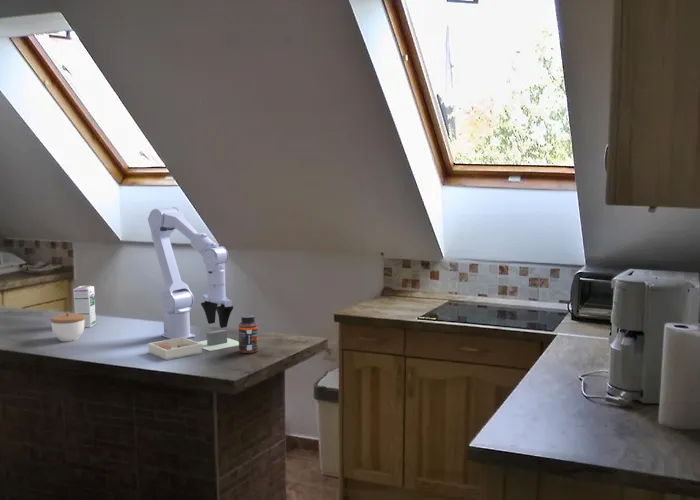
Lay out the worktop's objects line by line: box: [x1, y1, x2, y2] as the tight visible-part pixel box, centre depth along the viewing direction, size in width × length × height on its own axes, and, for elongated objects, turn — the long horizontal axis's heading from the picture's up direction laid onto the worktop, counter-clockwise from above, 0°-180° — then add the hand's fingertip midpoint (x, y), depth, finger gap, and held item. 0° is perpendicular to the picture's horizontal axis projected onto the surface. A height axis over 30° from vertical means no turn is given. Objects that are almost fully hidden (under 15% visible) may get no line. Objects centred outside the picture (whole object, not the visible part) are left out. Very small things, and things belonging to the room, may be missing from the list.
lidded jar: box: [50, 311, 85, 342], centre depth 243 cm, size 11×11×9 cm
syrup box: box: [72, 285, 98, 329], centre depth 262 cm, size 6×6×14 cm
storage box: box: [147, 337, 203, 361], centre depth 224 cm, size 12×12×3 cm
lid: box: [197, 329, 239, 352], centre depth 235 cm, size 13×13×5 cm
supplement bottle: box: [238, 314, 259, 354], centre depth 225 cm, size 6×6×11 cm
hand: (217, 325), depth 235 cm, fingers open, 7 cm apart
